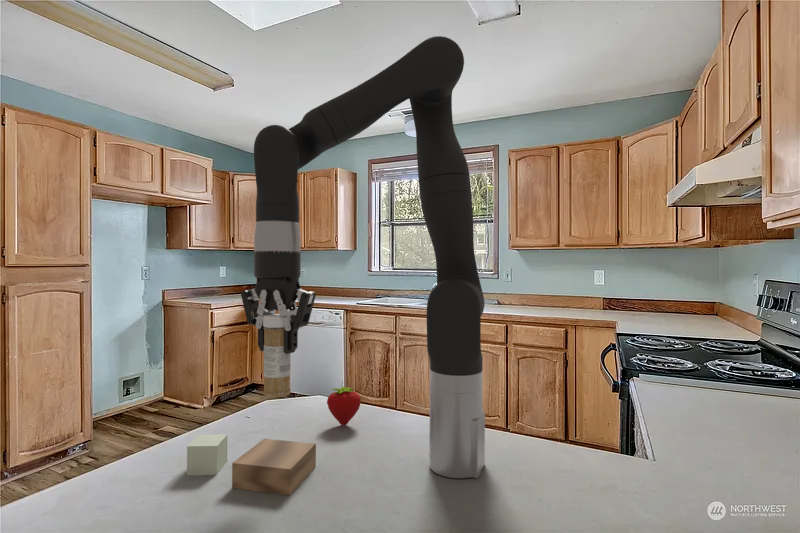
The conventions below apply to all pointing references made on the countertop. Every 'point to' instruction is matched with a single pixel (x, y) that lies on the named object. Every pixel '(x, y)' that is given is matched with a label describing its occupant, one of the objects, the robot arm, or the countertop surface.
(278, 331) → the sprinkles bottle
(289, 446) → the walnut block
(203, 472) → the sage cube
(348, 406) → the strawberry
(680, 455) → the countertop surface
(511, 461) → the countertop surface
